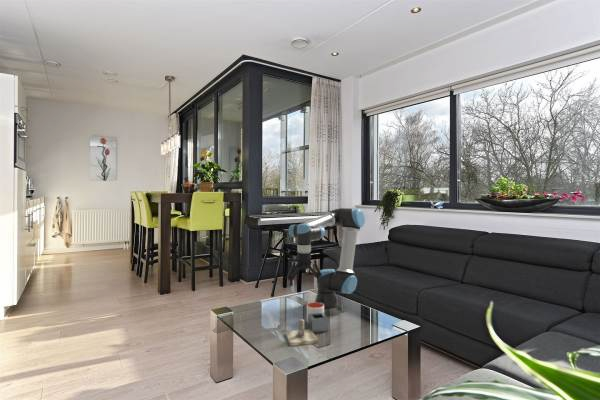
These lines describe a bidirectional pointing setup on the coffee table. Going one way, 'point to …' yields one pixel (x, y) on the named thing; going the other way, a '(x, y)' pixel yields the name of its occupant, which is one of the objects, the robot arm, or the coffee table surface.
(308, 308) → the cup
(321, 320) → the collar
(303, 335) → the shaft block
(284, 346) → the coffee table surface
